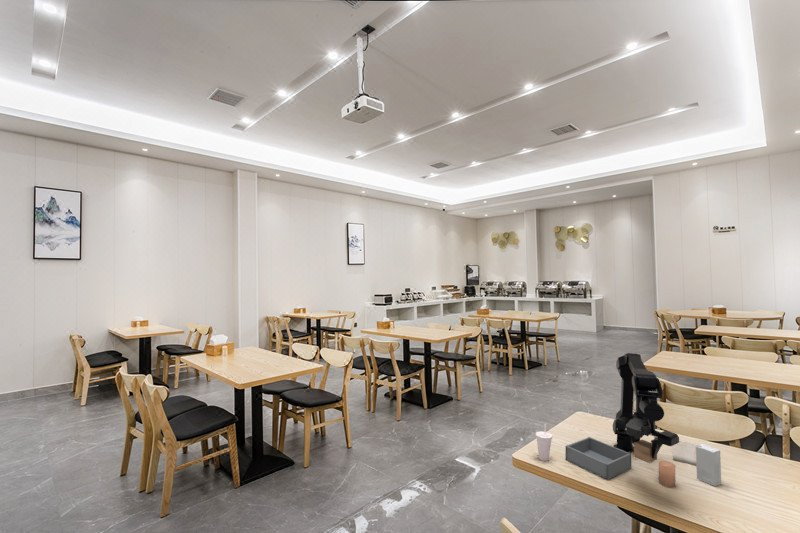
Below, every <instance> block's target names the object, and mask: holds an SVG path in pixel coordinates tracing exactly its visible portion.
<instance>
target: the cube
mask: <svg viewBox="0 0 800 533" xmlns="http://www.w3.org/2000/svg"><path fill="white" fill-rule="evenodd" d="M633 446H634V450H633V457H634V458H636V459H637V460H638V459H639V460H640V461H642V462H645V463H647V464H650V463H653V462H655V461H656V460H658V454H657V455H656V457H655V458H654V459H653V458H652V443H651V441H647V440H645V439H640V440H639V441H637V442H635V443H634V445H633Z"/></svg>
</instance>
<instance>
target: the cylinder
mask: <svg viewBox="0 0 800 533" xmlns="http://www.w3.org/2000/svg"><path fill="white" fill-rule="evenodd" d="M657 462H658V469H657V470H658V474H657V475H658V484H660V485H661V486H663V487H666V488H669V489H670V488H671V489H672V488H675V487H676V464H674V462H670V461H668V460H659V461H657Z"/></svg>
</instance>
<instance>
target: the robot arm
mask: <svg viewBox="0 0 800 533" xmlns="http://www.w3.org/2000/svg"><path fill="white" fill-rule="evenodd" d="M615 365H616V370H617V372H618V374H619V376H620V378H621V389H620V391H621V392H620V409H619V410H618V412H616V414H615V419H613V424H612V431H613V433H614V435H616V443H615V444H614V445H612V446H613V447H616V448H618V449H620V450H623V451H625V452H628V453H631V452H634V443H635V442H637V441H639V440H641V439H642V438H643V437H644V436H645V437H649V436H652V437H653V439H651V440H650V443H652V458H653V459H654V458H655V457H656V455H657V456H658V453H659V452H660V450H661V447H662V446H663V445H665V446H667V447H673V446H675V444H677V443H679V441H680V437H679V436H678V434H677V433H675V432H672V431H669V430H667V429H666V430H664V431H658V430H657V429H658V425H656V422H660V421H661V420H662V419H663V418H664V417H665V411H664V408H663V407H662V406H661V405H660V404H659V402H658V399H663V395H664V390H663V387H662V383H661V381H660V379H659V377H657V375H656V374H655V373H654V372H653V371H651V370H648V369H647V367H646V366H645V363H644V362H643V359H642V358H641V354H639V353H636V352H635V353H633V352H632V353H631V352H626V353H624V355H622V356H619V357H617V359H616V362H615ZM634 396H635V412H634Z"/></svg>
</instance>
